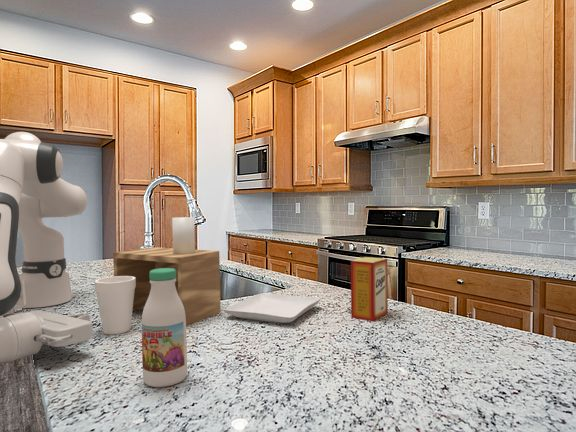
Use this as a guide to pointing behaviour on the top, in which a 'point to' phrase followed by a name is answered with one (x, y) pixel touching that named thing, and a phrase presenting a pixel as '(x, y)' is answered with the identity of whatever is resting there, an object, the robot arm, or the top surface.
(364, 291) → the baking soda box
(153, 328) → the milk bottle
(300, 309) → the salad plate
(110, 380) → the top surface
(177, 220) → the white pillar candle
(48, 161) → the robot arm
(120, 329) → the foam cup
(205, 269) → the cubby
